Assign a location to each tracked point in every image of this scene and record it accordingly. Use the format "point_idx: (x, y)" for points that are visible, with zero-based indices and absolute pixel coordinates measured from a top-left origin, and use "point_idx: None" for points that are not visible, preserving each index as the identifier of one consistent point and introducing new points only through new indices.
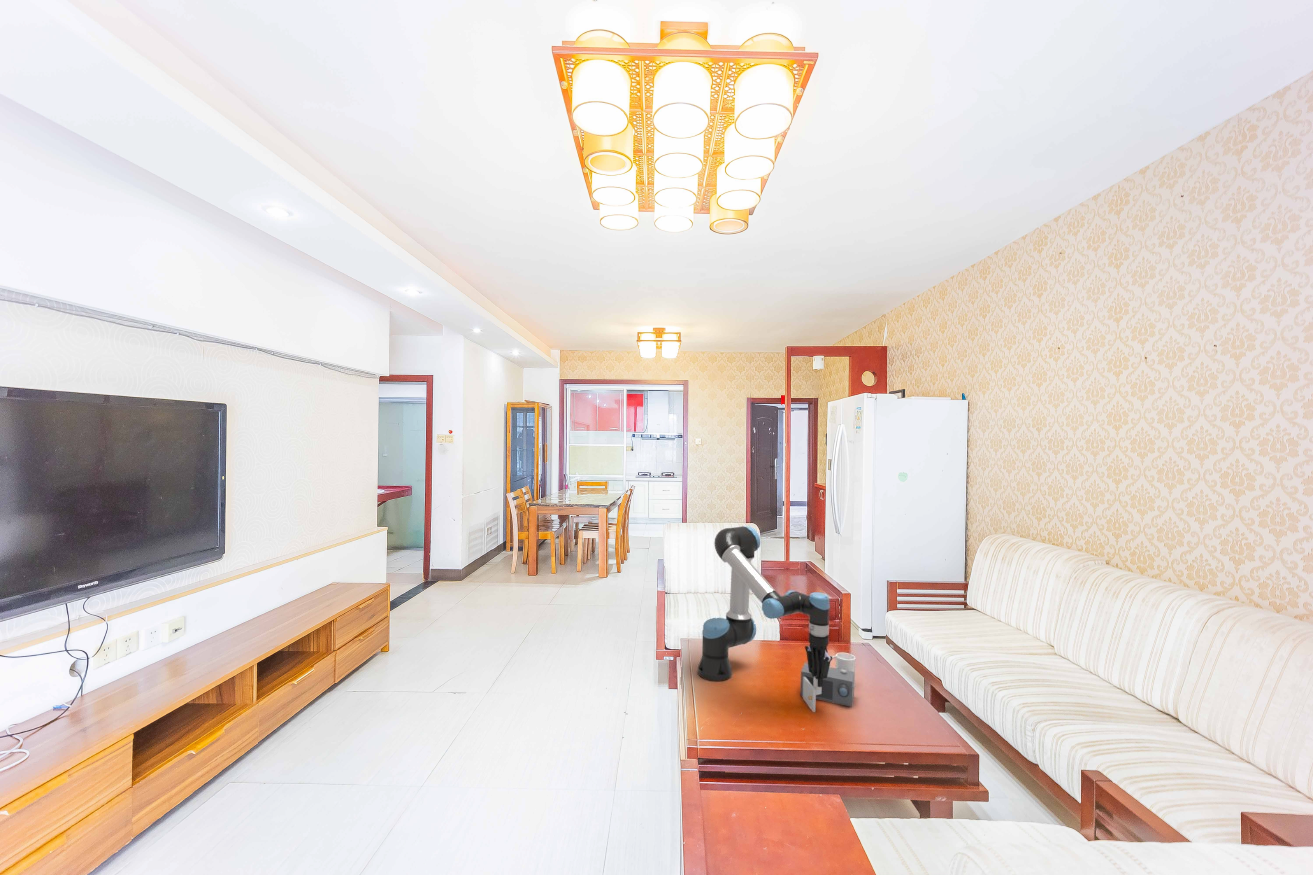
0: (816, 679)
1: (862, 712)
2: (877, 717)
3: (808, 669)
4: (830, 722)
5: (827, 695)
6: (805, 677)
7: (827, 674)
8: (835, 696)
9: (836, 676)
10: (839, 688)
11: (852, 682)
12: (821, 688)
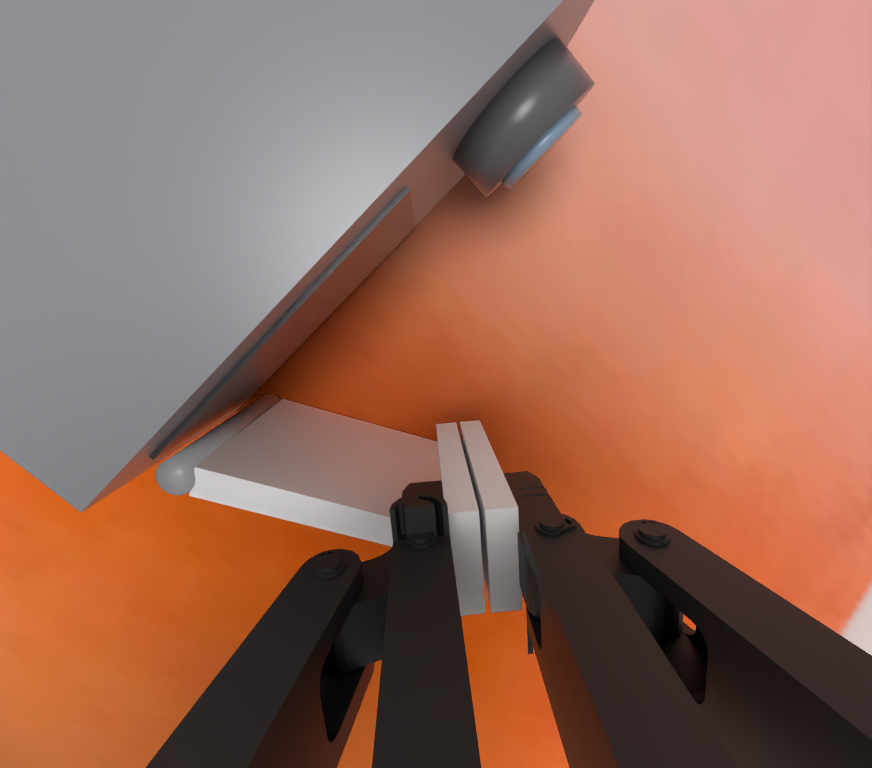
0: (518, 597)
1: (640, 86)
2: (758, 14)
3: (30, 363)
4: (647, 446)
5: (382, 258)
6: (201, 475)
7: (734, 570)
8: (431, 199)
9: (377, 66)
10: (507, 172)
11: None
12: (487, 439)
